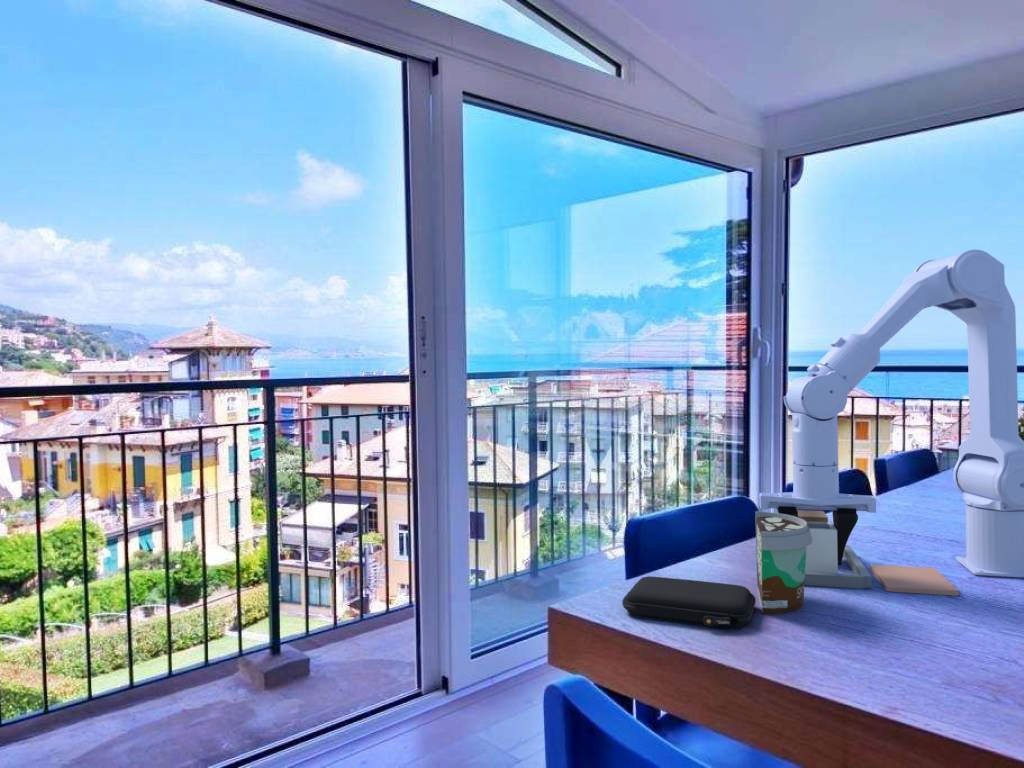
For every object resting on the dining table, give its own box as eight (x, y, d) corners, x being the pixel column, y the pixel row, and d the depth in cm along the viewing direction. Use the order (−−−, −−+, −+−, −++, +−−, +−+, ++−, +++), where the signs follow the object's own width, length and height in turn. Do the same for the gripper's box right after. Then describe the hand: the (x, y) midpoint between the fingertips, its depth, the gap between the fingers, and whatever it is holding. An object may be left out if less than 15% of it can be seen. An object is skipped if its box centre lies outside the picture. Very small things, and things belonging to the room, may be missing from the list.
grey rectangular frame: (848, 554, 104) (848, 544, 104) (872, 589, 88) (872, 577, 88) (764, 550, 108) (764, 540, 108) (773, 583, 91) (773, 572, 91)
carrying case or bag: (615, 622, 80) (748, 640, 74) (615, 596, 80) (748, 612, 74) (638, 594, 90) (757, 608, 83) (637, 571, 89) (756, 583, 83)
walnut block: (824, 557, 103) (823, 511, 103) (828, 565, 99) (827, 517, 99) (792, 555, 104) (791, 510, 104) (795, 563, 100) (794, 516, 100)
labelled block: (832, 572, 95) (831, 521, 95) (838, 582, 91) (837, 528, 91) (797, 570, 97) (796, 519, 97) (801, 580, 92) (800, 527, 92)
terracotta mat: (934, 572, 94) (934, 567, 94) (958, 595, 85) (958, 590, 85) (870, 568, 97) (870, 564, 97) (886, 591, 87) (886, 586, 87)
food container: (821, 622, 77) (819, 534, 77) (763, 618, 79) (761, 532, 79) (806, 588, 89) (805, 512, 89) (756, 585, 91) (755, 510, 91)
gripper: (867, 460, 95) (869, 557, 96) (757, 459, 100) (759, 551, 100) (879, 467, 89) (880, 571, 89) (760, 466, 93) (762, 565, 93)
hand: (817, 562), depth 94 cm, fingers closed on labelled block, 4 cm apart
